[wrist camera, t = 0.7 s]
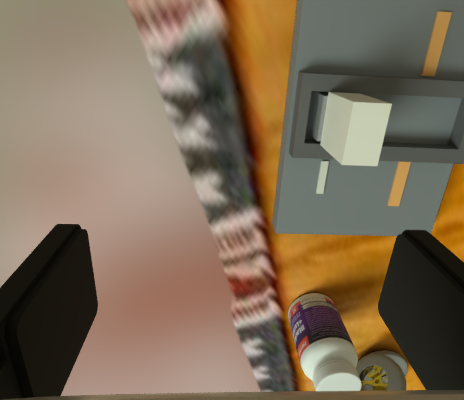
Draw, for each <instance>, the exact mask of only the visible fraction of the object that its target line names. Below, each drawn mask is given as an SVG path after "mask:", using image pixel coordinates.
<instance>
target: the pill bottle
mask: <svg viewBox="0 0 464 400" xmlns="http://www.w3.org/2000/svg"><path fill="white" fill-rule="evenodd" d="M288 318H289V322H290V326H291V330H292V334H293V337H294V341H295V345H296V349H297V352H298V356H299V360H300V364H301V366H302V369H303V371H304V373H305V374H306V376H307V377H308V378H310V379H311V380H313V383H314V386H315V389H316V391H360V390H361V380H360V378H359V375H358V372H357V370H356V366H357V362H358V357H357V353H356V350H355V347H354V345H353V343H352V341H351V339H350V337H349V334H348V332H347V330H346V328H345V326H344V324H343V321H342V319H341V317H340V315H339V313H338V310H337V308H336V306H335V304H334V303H333V301H332V300H331V299H330V298H329V297H327V296H326V295H323V294H320V293H310V294H306V295H303V296H301V297H299V298H297V299H296V300H295V301H294V302H293V303H292V304H291V306H290V308H289V312H288Z"/></svg>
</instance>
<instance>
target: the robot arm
mask: <svg viewBox="0 0 464 400" xmlns="http://www.w3.org/2000/svg"><path fill="white" fill-rule="evenodd" d="M97 308H98V301H97V295H96V287H95V280H94V273H93V267H92V261H91V253H90V246H89V240H88V233H87V231H86V230H85V229H81V227H80V225H78V224H57V225H56V226H55V227H54V228H53V229H52V230H51V231H50V232H49V234H48V235H47V236H46V237H45V238H44V239H43V240H42V242H41V243H40V244H39V245H38V246H37V247H36V248H35V249H34V251H33V252H32V253H31V254H30V255H29V256H28V257H27V258H26V259H25V261H24V262H23V263H22V264H21V265H20V266H19V267H18V269H17V270H16V271H15V272H14V273H13V274H12V275H11V276H10V277H9V279H8V280H7V281H6V282H5V283H4V284H3V285H2V287H1V288H0V400H464V262H462V261H461V260H460V259H459V258H458V257H457V256H455V255H454V254H453V253H452V252H451V251H450V250H449V249H447V248H446V247H445V246H444V245H443V244H442V243H440V242H439V241H438V240H437V239H436V238H435V237H434V236H432V235H431V234H430V233H429V232H428V231H426V230H405V231H403V232H402V234H399V235H398V236H397V238H396V241H395V244H394V248H393V252H392V255H391V259H390V263H389V266H388V270H387V274H386V277H385V281H384V284H383V288H382V292H381V295H380V299H379V303H378V310H379V314H380V316H381V317H382V319H383V321H384V322H385V324H386V326H387V327H388V329H389V330H390V332H391V334H392V335H393V337H394V339H395V340H396V342H397V343H398V345H399V347H400V348H401V350H402V352H403V353H404V355H405V356H406V358H407V360H408V361H409V363H410V365H411V366H412V368H413V369H414V371H415V373H416V374H417V376H418V378H419V379H420V381H421V382H422V384H423V386H424V387H425V389H426V390H394V391H293V392H224V393H174V394H173V393H168V394H116V395H82V396H61V393H62V391H63V389H64V386H65V384H66V382H67V379H68V377H69V375H70V373H71V371H72V368H73V366H74V364H75V362H76V359H77V357H78V355H79V352H80V350H81V348H82V346H83V343H84V341H85V339H86V337H87V334H88V332H89V330H90V327H91V325H92V323H93V321H94V318H95V316H96V313H97Z"/></svg>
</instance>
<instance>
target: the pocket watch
mask: <svg viewBox="0 0 464 400" xmlns="http://www.w3.org/2000/svg"><path fill="white" fill-rule="evenodd" d="M356 370H357V372H358V375H359V378H360V380H361V390H360V391H394V390H406V379H405V376H406V374H407V371H408V366H407V363H406V361H405V360H404V358H403V357H402V356H401V355H399V354H398V353H396V352H393V351H386V350H382V351H375V352H372V353H369V354H368V355H366V356H364V357H362V358H361V359H360V360H359V361H358V362H357V366H356Z"/></svg>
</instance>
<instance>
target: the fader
mask: <svg viewBox="0 0 464 400" xmlns="http://www.w3.org/2000/svg"><path fill="white" fill-rule="evenodd" d="M391 106H392V104H391V103H388V102H385V101H382V100H379V99H376V98H373V97H369V96H366V95H363V94H359V93H339V92H328V94H321V93H318V97H317V104H316V110H315V117H314V124H313V131H312V137H313V138H314V139H315V140H316V141H321V143H320V145H321V146H322V147H323V148H324V149H325V150H326V151H327V152H328V153H329V154H330V155H331V156H333V157H334V158H335V159H336V160H337V161H338V162H339V163H340V164H341V165H356V166H378V162H379V157H380V153H381V149H382V144H383V140H384V136H385V132H386V127H387V123H388V119H389V115H390V110H391Z"/></svg>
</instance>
